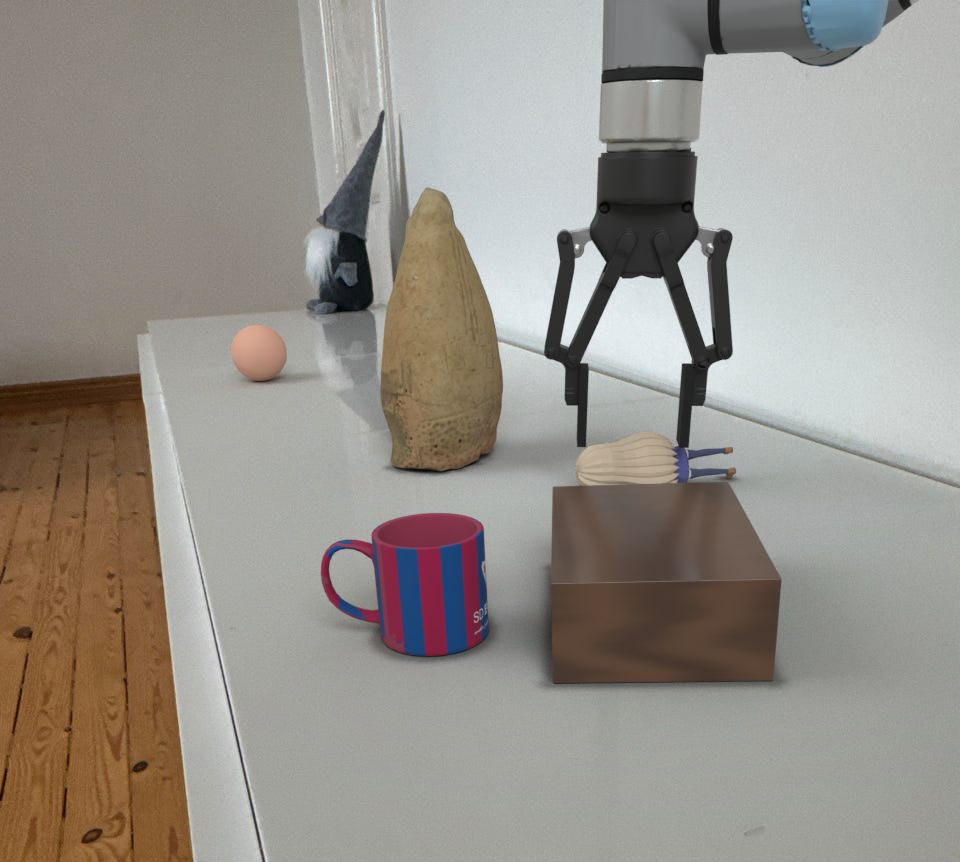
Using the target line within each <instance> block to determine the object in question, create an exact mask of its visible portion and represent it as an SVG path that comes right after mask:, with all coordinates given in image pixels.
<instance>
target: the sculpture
mask: <svg viewBox="0 0 960 862" xmlns="http://www.w3.org/2000/svg"><path fill="white" fill-rule="evenodd" d="M405 223H406V224H405V230H404V231H405V233H404V235H405V236H404V237H405V238H404V243H403V246H402V250H401V253H400V258H399V262H398V264H397V265H398V266H397V269H396V274H395V278H394V282H393V286H392V289H391V292H390V296H389V298H388V301H387V305H386V311H385V319H384V327H383V339H382V354H381V365H380V383H379V384H380V387H379V388H380V392H379V393H380V403H381V408H382V413H383V415H384V418H385V421H386V423H387V427H388V430H389V433H390V436H391V441H392V445H391V446H392V447H391V454H390V463H391V466H392V467H396V468H400V469H416V470H428V471H436V472H443V471H449V470H456V469H457V470H459V469H461V468H463V467H466V466H467V465H470V464H472V463H474V462H476V461H478V460H479V458H480V456H481V455H485V454H489V453H490V451H491V450H492V449H493V447H494V446H495V444H496V442H497V436H498V435H497V432H498V425H499V421H500V420H501V419H500V418H501V413H502V406H503V392H504V376H503V367H502V361H501V355H500V348H499V347H500V346H499V340H498V335H497V328H496V324H495V319H494V313H493V309H492V307H491V304H490V300H489V297H488V295H487V291H486V288H485V287H484V284H483V281H482V279H481V276H480V273H479V271H478V269H477V266H476V264H475V262H474V260H473V258H472V255H471V253H470V250H469V247H468V245H467V243H466V240H465V237H464V235H463V233H462V232H461V231H460V229H459V228H458V227H457V225H456V222H455V216H454V210H453V207H452V204H451V201H450V199H449V198H448V196H447V195H446V194H445V193H444V192H443V191H442V190H441V191H440V190H438V189H435V188H431V187H424V189H423V191H422V193H421V194H420V195H419V198H418V200H417V202H416V204H415V205H414V207H413V209H412V212H411V214H410V216H409V217H408V219H407V221H406V222H405Z"/></svg>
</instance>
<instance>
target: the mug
mask: <svg viewBox="0 0 960 862" xmlns="http://www.w3.org/2000/svg"><path fill="white" fill-rule="evenodd" d="M485 542H486V541H485V528H484V525H483V523H482V522H481V521H479V520H478V519H476V518H474V517H472V516H468V515H465V514H459V513H451V512H450V513H449V512H427V513H426V512H425V513H416V514H415V513H414V514H410V515H403V516H399V517H395V518H393V519H390V520H387V521H384V522H382V523H381V524H379V525H378V526H376V527H375V528H374V529H373V530H372V532H371V542H368V541H364V540H359V539H342V540H341V539H340V540H338V541H335V542H333V543H332V544H330V545H329V547H328V548H327V549H326V550H325V551H324V554H323V556H322V558H321V563H320V579H321V585H322V589H323V591H324V594H325V595H326V597H327V599H328V601H329V602H330V603H331V604H332V605H333V606H334V607H335V608H336V609H337V610H338V611H340V612H341V613H342V614H345V615H347V616H349V617H351V618H353V619H356V620H359V621H363V622H366V623H372V624H378V625H379V629H380V635H381V639H382V642H383V643H384V644H385V645H386V646H387V647H388V648H390V649H391V650H393V651H396V652H398V653H401V654H404V655H409V656H416V657H438V656H439V657H440V656H447V655H452V654H456V653H462V652H464V651H466V650H469V649H472V648H473V647H476V646H477V645H479V644H480V643H482V642H483V641H484V640H485V639H486V638H487V636H488V634H489V631H490V626H489V625H490V623H489V608H488V607H489V605H488V602H489V601H488V582H487V565H486V545H485ZM341 550H342V551H343V550H353V551H355V552H359V553H361V554H362V555H364V556H365V557H367V558H369V559H370V560H371V562H372V565H373V571H374V572H373V573H374V581H375V591H376V600H377V602H376V603H377V609H367V608H362V607H358V606H355V605H354V604H352V603H349V602H348V601H346V600H345V599H343V598H342V597H341V595H339V593H338V592H337V591H336V589H335V587H334V585H333V582H332V579H331V575H330V566H331V565H330V564H331V560H332V558H333V556H334V555H335V554H336V553H337V552H339V551H341Z"/></svg>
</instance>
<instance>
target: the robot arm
mask: <svg viewBox="0 0 960 862" xmlns="http://www.w3.org/2000/svg"><path fill="white" fill-rule="evenodd" d="M917 2H919V0H603V5H602V6H603V8H602V9H603V11H602V12H603V13H602V54H601V55H602V56H601V57H602V60H601V62H602V63H601V82H600V83H601V84H600V94H599V95H600V99H599V124H598V141H599V142H600V143H601V144H605V145H606V147H605V148H606V149H605V150H606V152H601V153H600V156H599V157H597V178H596V179H597V180H596V181H597V182H596V185H597V186H596V207H595V214H594V216H593V218H592V220H591V222H590V224H589V226H586V227H581V228H576V229H571V230H570V229H569V230H568V229H561V230H559V231H558V232H557V235H556V243H557V244H556V245H557V250H558V251H557V252H558V257H559V265H558V270H557V275H556V281H555V282H556V283H555V287H554V293H553V297H552V304H551V310H550V315H549V320H548V324H547V325H548V326H547V331H546V336H545V342H544V351H543V354H544V357H545V358H546V359H547V360H550V361H552V360H553V361H555V362H557V363H560V364H561V365H562V366H563V367H564V401H565V404H566V406H568V407H569V406H571V407H572V406H576V407H577V412H576V413H577V414H576V448H587V430H588V429H587V428H588V427H587V426H588V404H589V403H588V400H589V376H590V367H589V363H587V362H582V360H583V357H584V355H585V353H586V352H587V349H588V347H589V344H590V343H591V340H592V338H593V337H594V334H595V331H596V329H597V327H598V325H599V323H600V321H601V319H602V317H603V314H604V311H605V309H606V308H607V306H608V304H609V300H610V299H611V296H612V295H613V292H614V290H615V289H616V287H617V284H618V283H619V280H620V278H621V279H623V280H626V279H630V280H631V279H632V280H633V279H636V278H639V277H645V278H649V279H663V281H664V284H665V287H666V289H667V291H668V295H669V297H670V301H671V303H672V306H673V309H674V311H675V315H676V317H677V320H678V323H679V326H680V330H681V332H682V335H683V337H684V340H685V341H684V342H685V343H686V347H687V349H688V352H689V355H690V358H691V363H689V362H688V363H686V362H685V363H684V362H683V363H681V371H680V383H679V384H680V385H679V387H680V388H679V395H678V396H679V398H678V409H677V410H678V412H677V422H676V423H677V424H676V425H677V426H676V437H675V440H676V443H677V446H678V445H679V447H680V448H685V449H689V448H690V438H691V437H690V435H691V424H692V410H693V407H704V404H705V402H706V398H707V385H708V374H709V369H710V368H711V366H712V365H713V364H715V363H717V362H720V361H727V360H729V359H730V358H731V357H732V356H733V352H734V349H733V347H734V346H733V336H732V335H733V334H732V321H731V320H732V319H731V307H730V305H731V304H730V293H729V291H730V290H729V281H728V280H729V279H728V265H727V264H728V263H727V261H728V258H729V255H730V250H731V246H732V242H733V239H734V238H733V233H732V231H730V230H728V229H726V228H724V227H718V228H710V227H707V226H706V227H705V226H700V225H699V222H698V219H697V217H696V215H695V199H696V198H695V197H696V183H697V171H698V169H697V168H698V157H699V156H698V155H696V151H692V147H691V146H692V145H691V143H696V142H697V141H698V140H700V131H701V128H700V127H701V118H702V117H701V115H702V103H703V101H702V100H703V88H704V87H703V86H704V73H705V72H704V71H705V69H704V68H705V62H706V57H707V55H708V56H709V55H716V56H721V55H729V54H757V53H758V54H760V53H761V54H763V53H764V54H765V53H784V54H786V55H788V56H790V57H791V58H792V59H793V60H796V61H798V63H800V64H803V65H806V66H811V67H819V68H825V67H827V68H828V67H831V66H835V65H839V64H840V63H842V62H844V61H847V60H848V59H849V58H851V57H853V56H854V55H855V54H857V53H858V52H859V51H861V50H862V49H863V48H864V47H866V46H868V45H870V44H873V43H874V41H876V40H877V38H878V37H879V36H880V35H881V31H882V29H883V28H884V27H886V26H887V25H888V24H890V23H891V22H892V21H893V20H895V19H896V18H898V17H899V16H900V15H901V14H903V13H904V12H905V11H906V10H908V9H909V8H911V7H912V6H913V5H914V4H916V3H917ZM695 241H698V243H699V245H700V252H701V254H702V255H703V256H704V257H706V258H707V260H706V269H707V271H706V272H707V281H708V295H709V296H708V297H709V308H710V309H709V310H710V321H711V334H712V343H711V344H709V345H706V342H705V340H704V338H703V334H702V331H701V329H700V326H699V323H698V320H697V317H696V314H695V311H694V308H693V304H692V302H691V300H690V297H689V294H688V291H687V288H686V285H685V281H684V277H683V275H682V272H681V269H680V266H679V262H680V261H681V260H682V259H683V258H684V255H686V253H687V251H689V250H690V248H691V247H692V245H693V244H694V242H695ZM589 242H592V243H593V245H594V246H595V249H597V251H598V252H599V254H600V255H601V257H602V258H603V260H604V262H605V264H604V265H603V268H602V270H601V273H600V276H599V278H598V281H597V283H596V285H595V288H594V290H593V292H592V294H591V297H590V299H589V301H588V303H587V305H586V308H585V310H584V313H583V315H582V317H581V319H580V321H579V323H578V325H577V328H576V330H575V332H574V334H573V337H572V339H571V341H570V344H569V346H567V345H565V344H561V343H562V338H563V334H564V333H563V332H564V328H565V327H564V326H565V323H566V318H567V313H568V312H567V311H568V306H569V302H570V295H571V290H572V286H573V279H574V274H575V269H576V259H579V258H581V257H582V256H583V254H584V253H585V246H586V245H587V244H588V243H589Z"/></svg>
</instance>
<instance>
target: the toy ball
mask: <svg viewBox="0 0 960 862" xmlns="http://www.w3.org/2000/svg"><path fill="white" fill-rule="evenodd" d="M231 342H232V343H231V345H230V354H231V360H232V362H233V365H234V366H235V368H236V370H237V371H238V372H239V373H240V374H241V375H242V376H243V377H245V378H247V379H249V380H252V381H255V382H265V381H270V380H272V379H274V378H276V377H277V376H278V375H279V374H280V373H281V372H282V370H283V369H284V367H285V365H286V364H287V358H288V352H287V346H286V343H285V341H284V339H283V337H282V336H281V335H280V334H279V333H278V331H276V330H275V329H273V328H272V327H270V326H267V325H264V324H250V325H247V326H245V327H243V328H242V329H240V330H239V331H238V332H237V333H236V334H235V336H234V338H233V339H232V341H231Z"/></svg>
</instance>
